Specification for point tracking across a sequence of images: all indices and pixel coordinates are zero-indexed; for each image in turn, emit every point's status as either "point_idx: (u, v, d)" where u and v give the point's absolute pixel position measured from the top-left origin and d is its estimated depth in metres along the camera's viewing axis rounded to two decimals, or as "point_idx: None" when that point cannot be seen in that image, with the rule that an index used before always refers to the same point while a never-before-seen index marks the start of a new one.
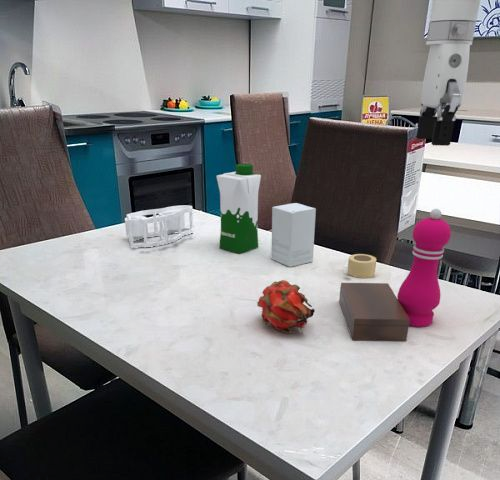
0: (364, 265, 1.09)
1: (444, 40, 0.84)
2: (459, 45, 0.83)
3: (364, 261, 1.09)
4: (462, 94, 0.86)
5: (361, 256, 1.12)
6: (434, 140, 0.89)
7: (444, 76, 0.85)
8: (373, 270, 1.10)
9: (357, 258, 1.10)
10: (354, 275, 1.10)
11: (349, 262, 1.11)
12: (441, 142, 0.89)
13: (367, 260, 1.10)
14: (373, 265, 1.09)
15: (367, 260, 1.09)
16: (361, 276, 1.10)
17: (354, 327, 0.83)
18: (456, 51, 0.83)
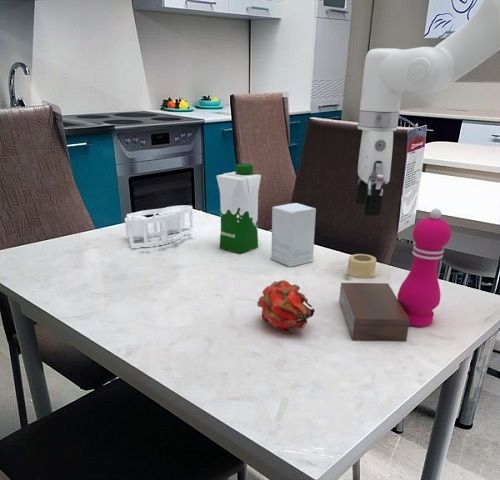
0: (364, 265, 1.09)
1: (371, 127, 0.96)
2: (383, 133, 0.95)
3: (364, 261, 1.09)
4: (388, 173, 0.98)
5: (361, 256, 1.12)
6: (365, 211, 1.01)
7: (372, 158, 0.97)
8: (373, 270, 1.10)
9: (357, 258, 1.10)
10: (354, 275, 1.10)
11: (349, 262, 1.11)
12: (372, 213, 1.01)
13: (367, 260, 1.10)
14: (373, 265, 1.09)
15: (367, 260, 1.09)
16: (361, 276, 1.10)
17: (354, 327, 0.83)
18: (380, 138, 0.95)
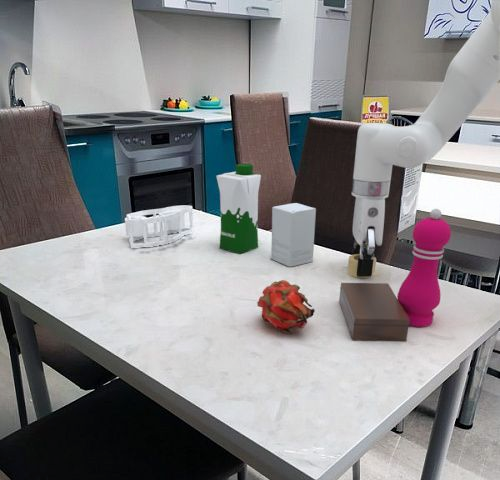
0: None
1: (364, 195, 1.02)
2: (375, 201, 1.01)
3: None
4: (380, 237, 1.04)
5: None
6: (358, 272, 1.09)
7: (365, 223, 1.03)
8: (373, 270, 1.10)
9: (357, 258, 1.10)
10: (354, 275, 1.10)
11: (349, 262, 1.11)
12: (364, 274, 1.09)
13: None
14: (373, 265, 1.09)
15: None
16: None
17: (354, 327, 0.83)
18: (373, 205, 1.01)
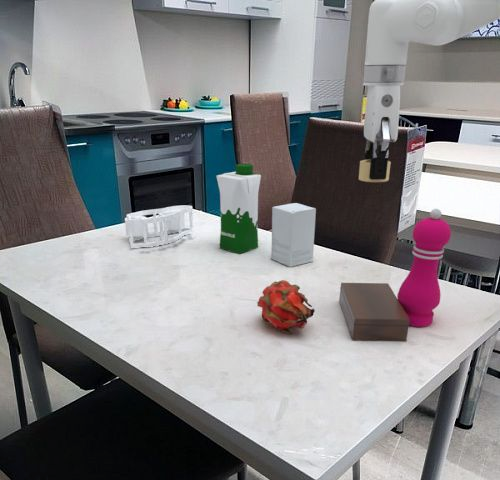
0: None
1: (377, 82, 0.92)
2: (390, 87, 0.91)
3: None
4: (396, 130, 0.94)
5: None
6: (371, 175, 0.99)
7: (378, 114, 0.93)
8: (387, 173, 1.00)
9: (369, 161, 1.01)
10: (366, 180, 1.01)
11: (361, 166, 1.01)
12: (377, 176, 0.99)
13: None
14: (387, 167, 1.00)
15: None
16: (374, 180, 1.00)
17: (354, 327, 0.83)
18: (387, 92, 0.92)
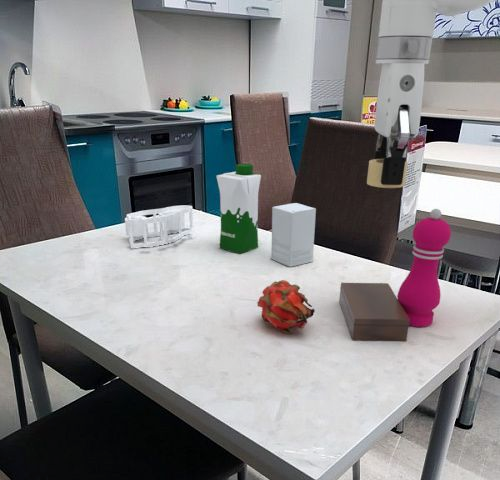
0: None
1: (394, 59, 0.71)
2: (411, 65, 0.70)
3: None
4: (417, 122, 0.73)
5: None
6: (383, 179, 0.78)
7: (395, 101, 0.72)
8: (403, 177, 0.79)
9: (381, 161, 0.80)
10: (376, 185, 0.80)
11: (370, 167, 0.80)
12: (391, 181, 0.78)
13: None
14: (404, 169, 0.79)
15: None
16: (387, 185, 0.79)
17: (354, 327, 0.83)
18: (407, 72, 0.70)
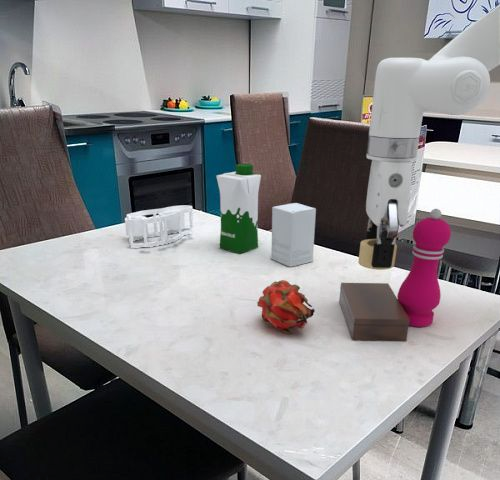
0: None
1: (383, 158, 0.75)
2: (399, 164, 0.75)
3: None
4: (405, 214, 0.77)
5: None
6: (374, 262, 0.82)
7: (384, 196, 0.76)
8: (393, 259, 0.84)
9: (372, 244, 0.84)
10: (367, 266, 0.84)
11: (361, 249, 0.85)
12: (381, 264, 0.83)
13: None
14: (393, 253, 0.83)
15: None
16: None
17: (354, 327, 0.83)
18: (396, 171, 0.75)
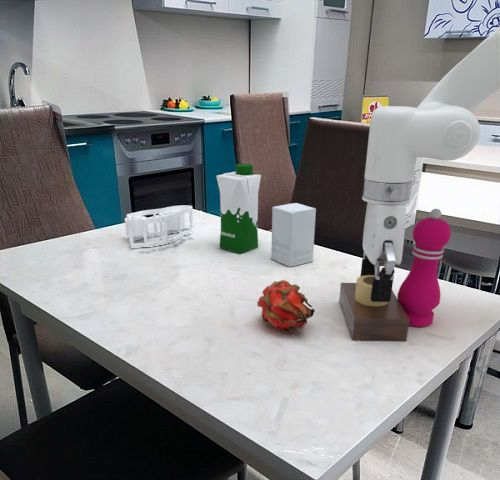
0: None
1: (378, 201, 0.78)
2: (394, 208, 0.77)
3: None
4: (400, 254, 0.80)
5: (372, 278, 0.89)
6: (373, 297, 0.84)
7: (380, 237, 0.79)
8: None
9: (367, 281, 0.87)
10: (363, 303, 0.87)
11: (357, 286, 0.88)
12: (380, 299, 0.84)
13: None
14: None
15: None
16: (372, 304, 0.87)
17: (354, 327, 0.83)
18: (390, 213, 0.78)
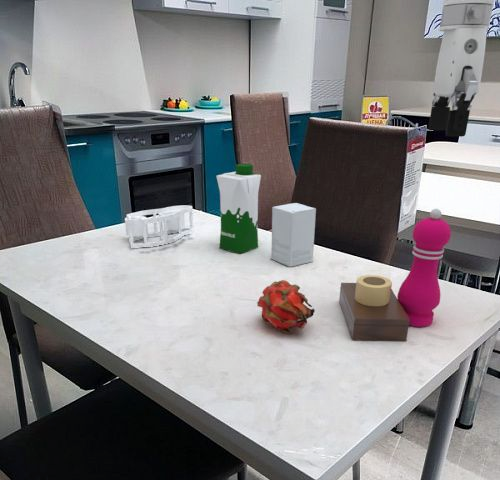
0: (377, 291, 0.85)
1: (459, 25, 0.79)
2: (475, 30, 0.78)
3: (377, 286, 0.86)
4: (478, 82, 0.81)
5: (372, 278, 0.89)
6: (448, 131, 0.85)
7: (459, 63, 0.80)
8: (388, 296, 0.87)
9: (367, 281, 0.87)
10: (363, 303, 0.87)
11: (357, 286, 0.88)
12: (456, 133, 0.85)
13: (380, 284, 0.87)
14: (388, 290, 0.86)
15: (380, 284, 0.86)
16: (372, 304, 0.87)
17: (354, 327, 0.83)
18: (472, 36, 0.79)
